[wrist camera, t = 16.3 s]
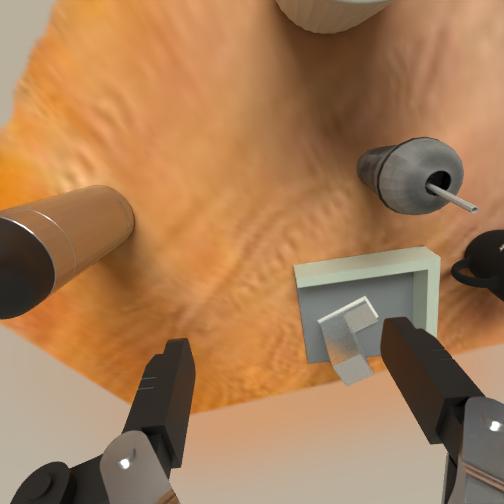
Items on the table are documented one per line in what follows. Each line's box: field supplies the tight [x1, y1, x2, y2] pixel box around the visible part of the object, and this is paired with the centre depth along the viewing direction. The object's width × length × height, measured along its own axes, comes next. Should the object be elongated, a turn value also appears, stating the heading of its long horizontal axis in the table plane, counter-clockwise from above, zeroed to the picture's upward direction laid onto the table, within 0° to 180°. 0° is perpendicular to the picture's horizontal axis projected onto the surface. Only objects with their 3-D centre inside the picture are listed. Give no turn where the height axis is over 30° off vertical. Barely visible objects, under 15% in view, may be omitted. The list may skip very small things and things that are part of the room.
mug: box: [451, 230, 504, 302], centre depth 37 cm, size 12×9×10 cm
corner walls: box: [294, 246, 441, 339], centre depth 44 cm, size 19×19×4 cm
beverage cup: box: [357, 137, 479, 215], centre depth 29 cm, size 7×7×20 cm
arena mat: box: [295, 246, 424, 363], centre depth 46 cm, size 19×19×1 cm
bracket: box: [319, 299, 378, 386], centre depth 42 cm, size 8×4×10 cm, turn 124°
